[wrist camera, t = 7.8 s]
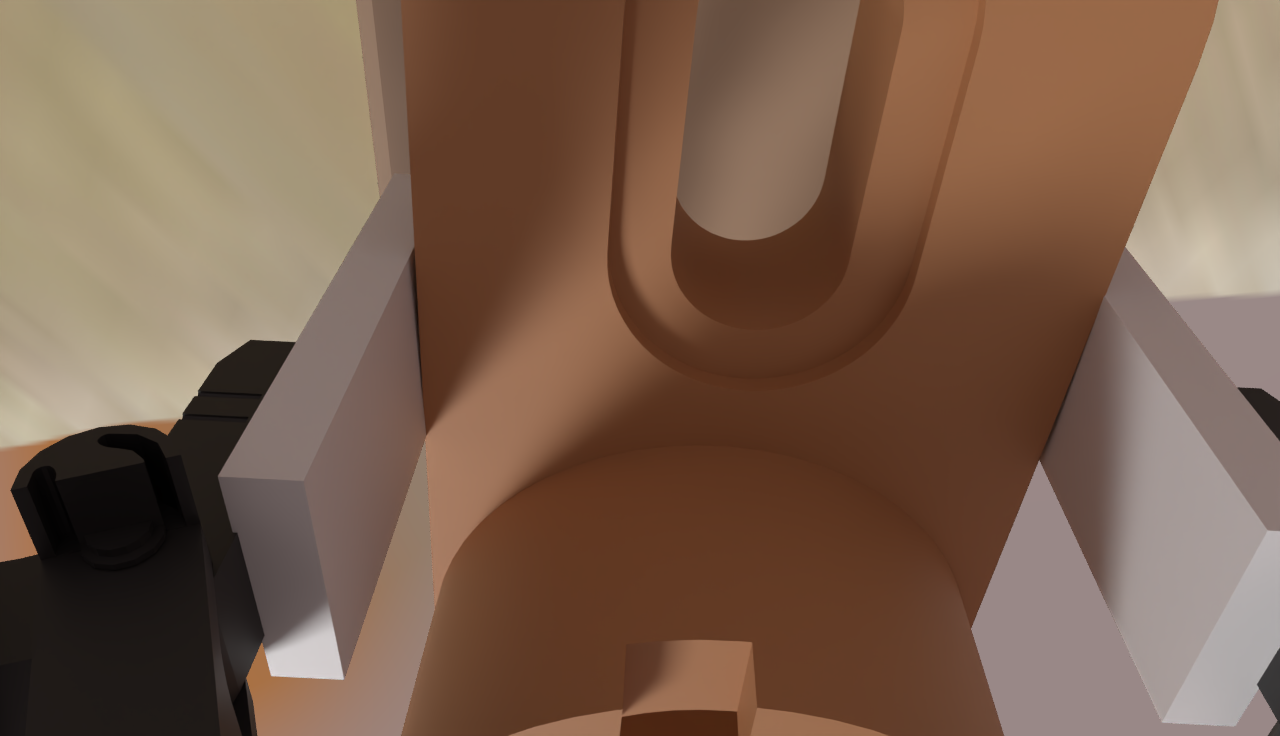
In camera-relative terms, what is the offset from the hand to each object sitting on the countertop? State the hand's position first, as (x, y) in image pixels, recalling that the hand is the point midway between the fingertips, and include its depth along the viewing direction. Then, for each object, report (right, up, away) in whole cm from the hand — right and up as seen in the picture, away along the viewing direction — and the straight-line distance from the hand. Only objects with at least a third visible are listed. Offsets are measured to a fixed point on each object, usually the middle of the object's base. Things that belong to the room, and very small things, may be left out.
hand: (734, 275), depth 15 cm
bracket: (0, 0, +1) cm, 1 cm away
